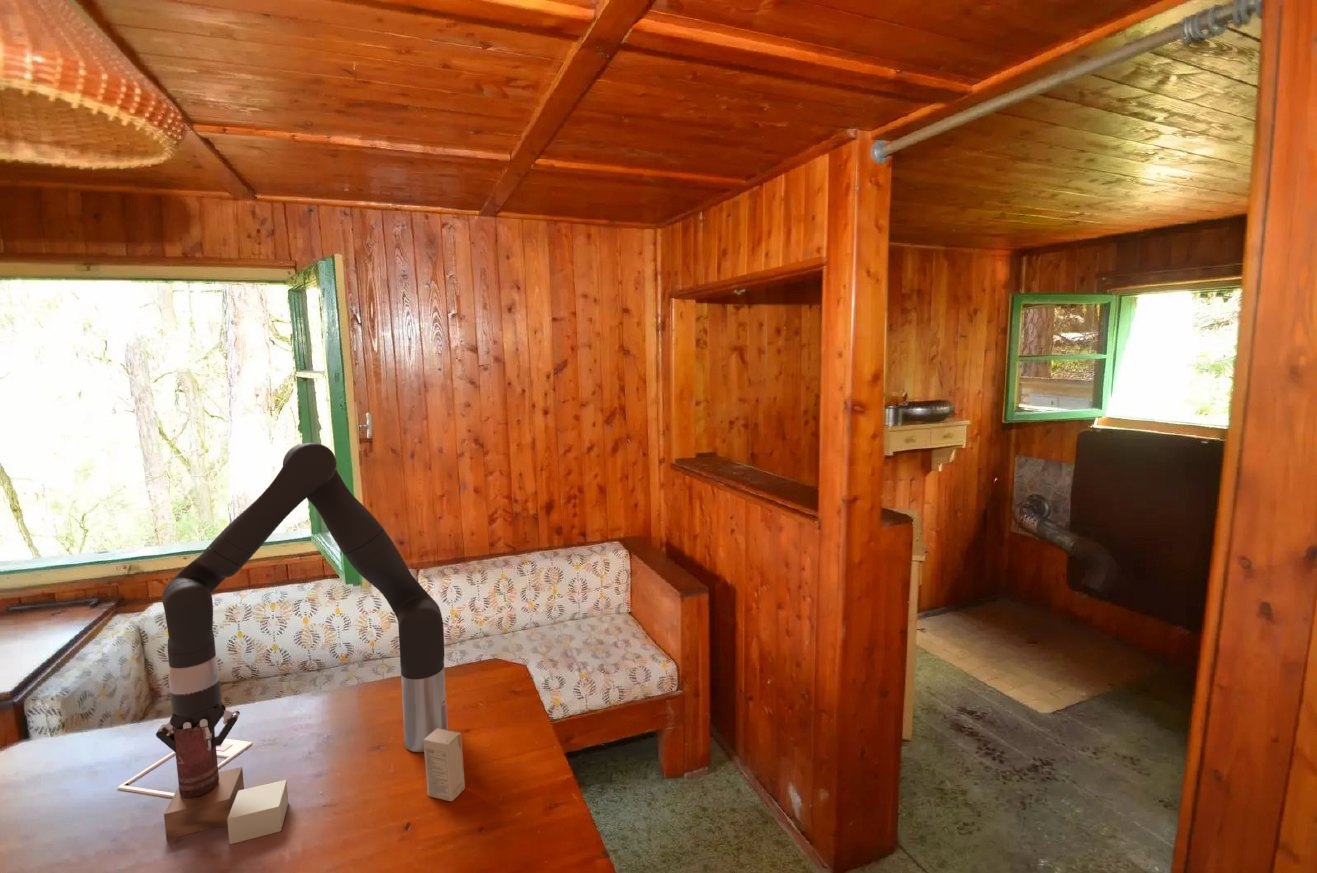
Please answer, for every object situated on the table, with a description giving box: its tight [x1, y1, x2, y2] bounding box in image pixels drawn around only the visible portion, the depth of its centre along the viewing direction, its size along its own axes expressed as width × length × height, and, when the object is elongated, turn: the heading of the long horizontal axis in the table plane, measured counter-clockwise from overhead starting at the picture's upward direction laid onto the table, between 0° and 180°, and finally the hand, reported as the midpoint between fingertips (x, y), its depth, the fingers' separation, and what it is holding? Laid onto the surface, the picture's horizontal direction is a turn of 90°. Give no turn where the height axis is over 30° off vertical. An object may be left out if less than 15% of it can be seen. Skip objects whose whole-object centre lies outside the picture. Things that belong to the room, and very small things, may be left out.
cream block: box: [227, 779, 289, 845], centre depth 114 cm, size 8×8×5 cm
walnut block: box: [163, 766, 245, 840], centre depth 117 cm, size 10×10×5 cm
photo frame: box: [117, 738, 253, 799], centre depth 132 cm, size 15×1×18 cm
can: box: [173, 724, 219, 799], centre depth 116 cm, size 6×6×14 cm
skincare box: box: [423, 728, 466, 802], centre depth 122 cm, size 6×4×12 cm
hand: (203, 767), depth 116 cm, fingers closed
